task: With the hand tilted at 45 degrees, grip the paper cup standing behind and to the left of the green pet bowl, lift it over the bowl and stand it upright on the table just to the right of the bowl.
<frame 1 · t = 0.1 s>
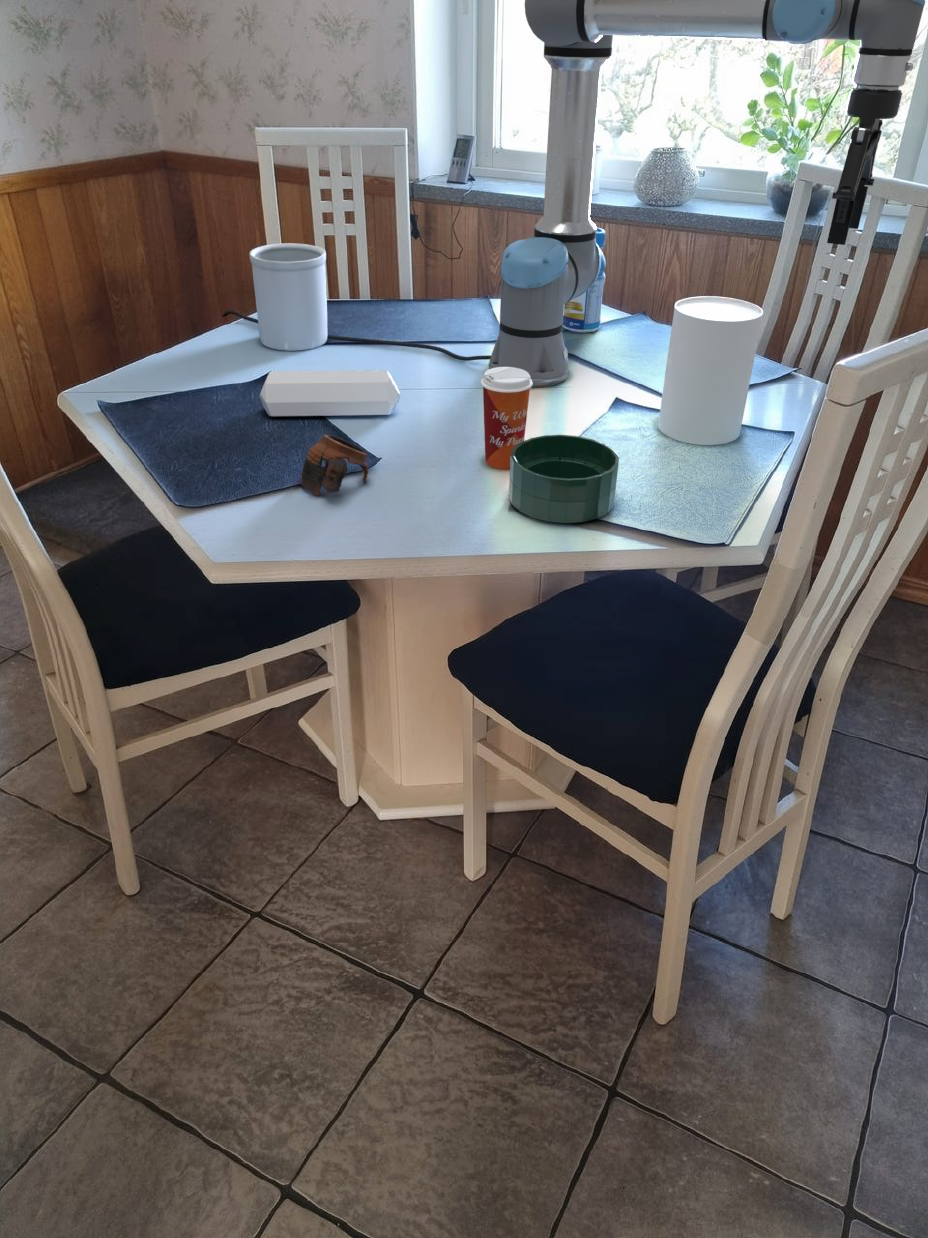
hand: (843, 235, 154), 28 cm above the table, tool pointing down, fingers open, 13 cm apart
leather tool belt: (334, 487, 138), on the table
utensil holder: (295, 341, 193), on the table
canister: (698, 429, 157), on the table
crystal: (331, 412, 162), on the table
paper cup: (503, 462, 145), on the table
green pet bowl: (561, 501, 135), on the table
beverage bottle: (580, 328, 203), on the table
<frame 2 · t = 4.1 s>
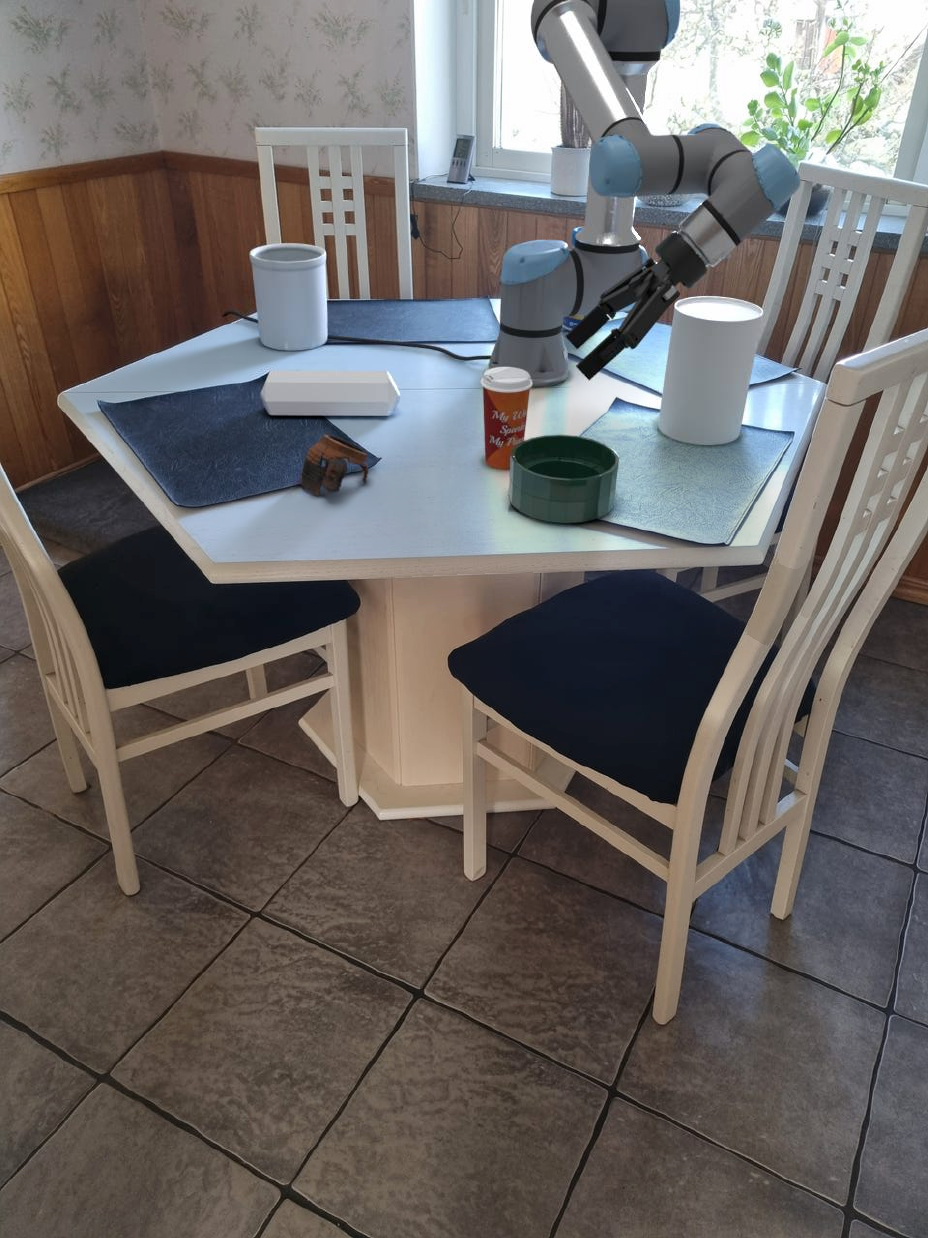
hand: (576, 357, 136), 17 cm above the table, tool tilted 45°, fingers open, 13 cm apart
nothing on the table moved.
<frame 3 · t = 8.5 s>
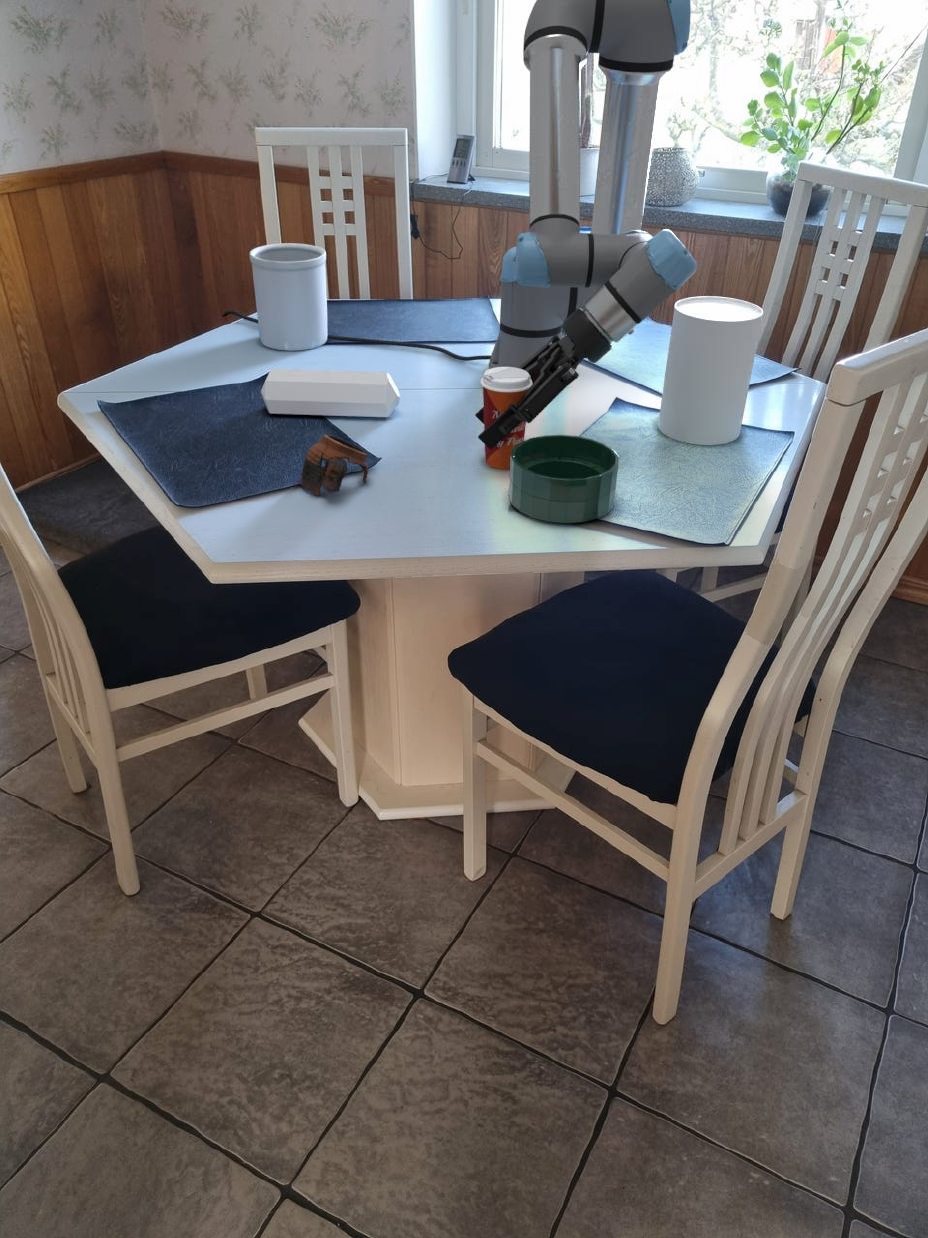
hand: (482, 431, 142), 5 cm above the table, tool tilted 45°, fingers closed on paper cup, 8 cm apart
paper cup: (503, 462, 145), on the table, touching gripper
everything else where it was.
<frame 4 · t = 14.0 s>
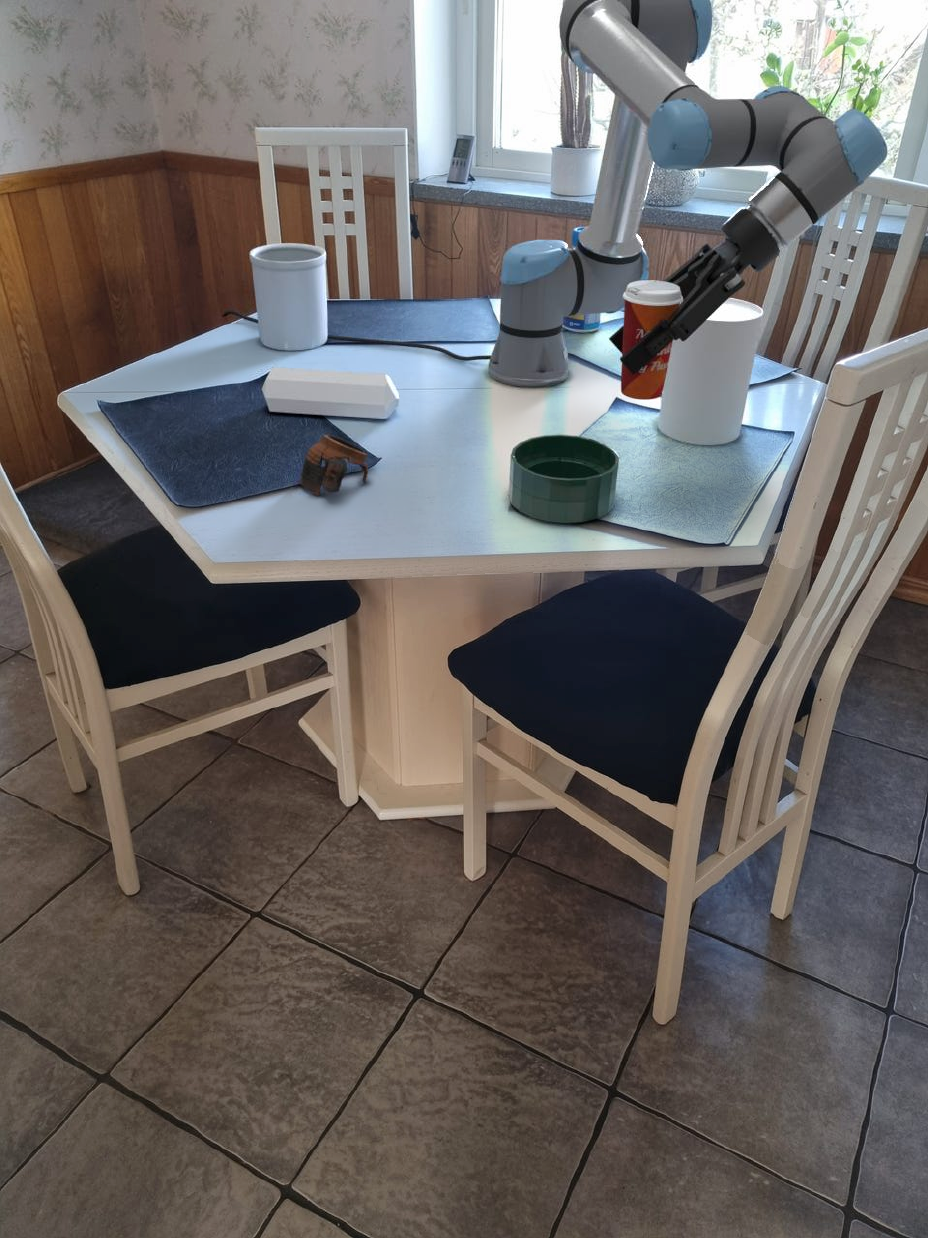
hand: (621, 356, 124), 21 cm above the table, tool tilted 45°, fingers closed on paper cup, 8 cm apart
paper cup: (641, 393, 127), point 16 cm above the table, touching gripper
when the fingers open (5 cm above the table, at t = 19.5 s): paper cup stays where it is, on the table.
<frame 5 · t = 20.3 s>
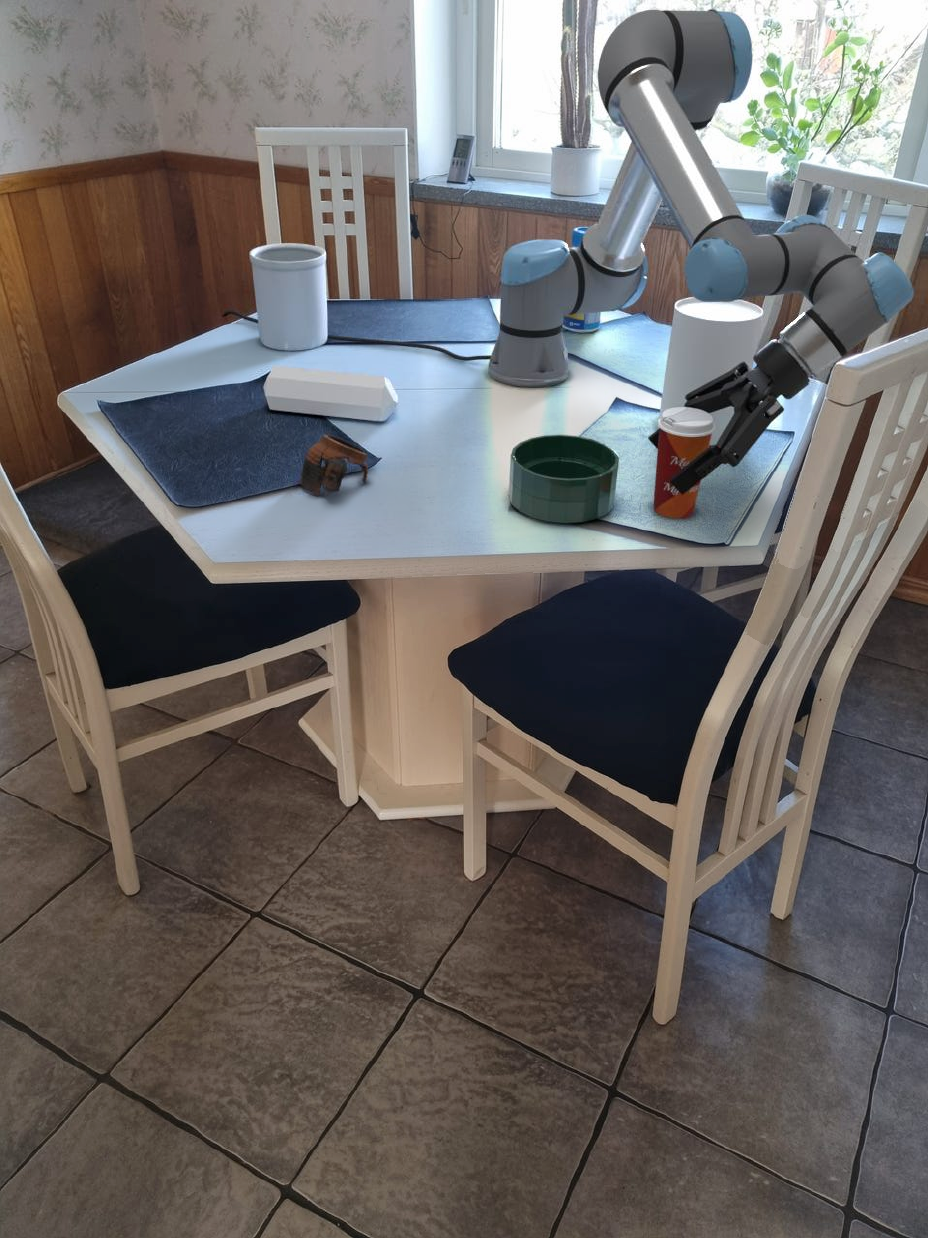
hand: (664, 465, 129), 7 cm above the table, tool tilted 45°, fingers open, 13 cm apart
paper cup: (673, 510, 133), on the table
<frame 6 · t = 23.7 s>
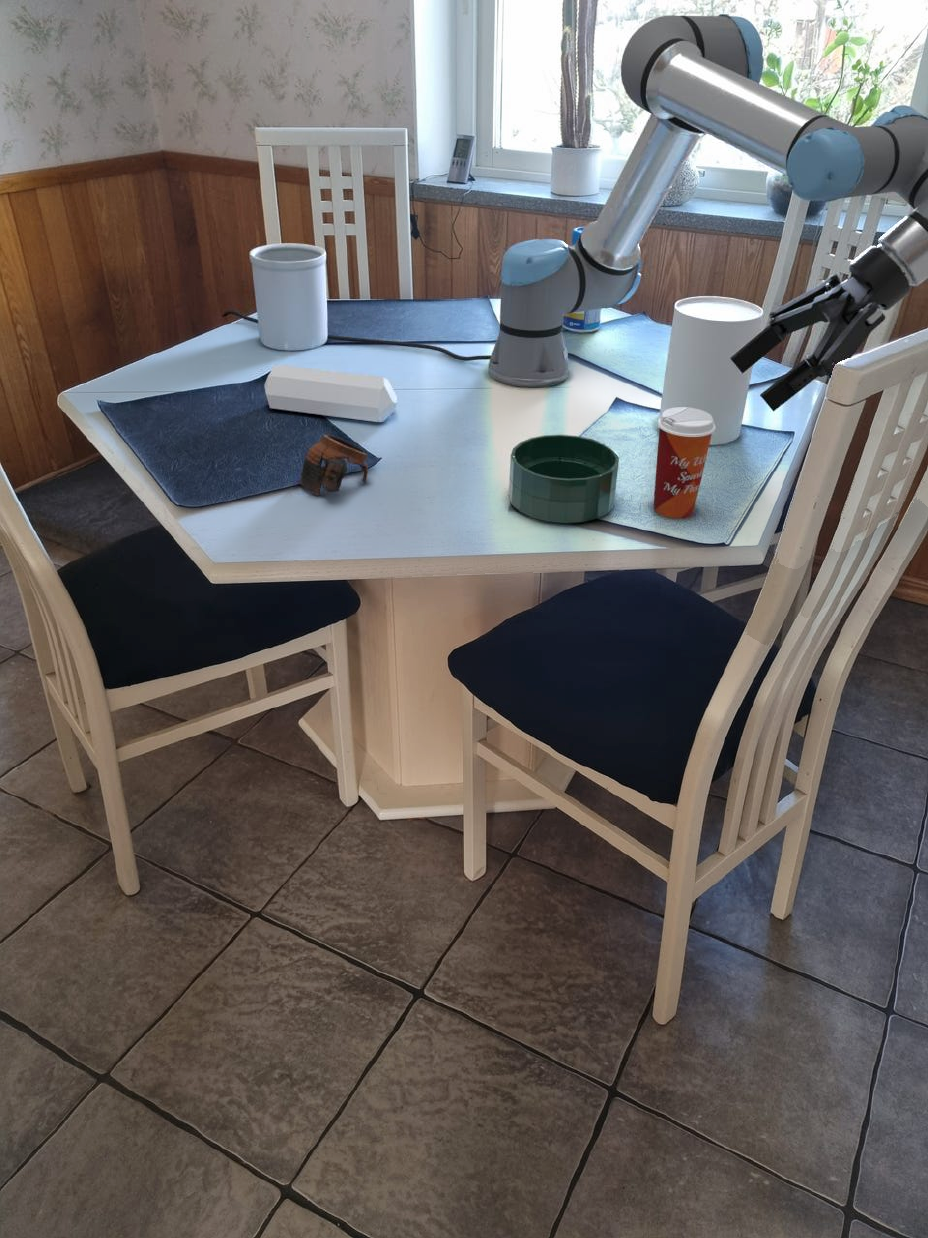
hand: (750, 383, 123), 18 cm above the table, tool tilted 45°, fingers open, 13 cm apart
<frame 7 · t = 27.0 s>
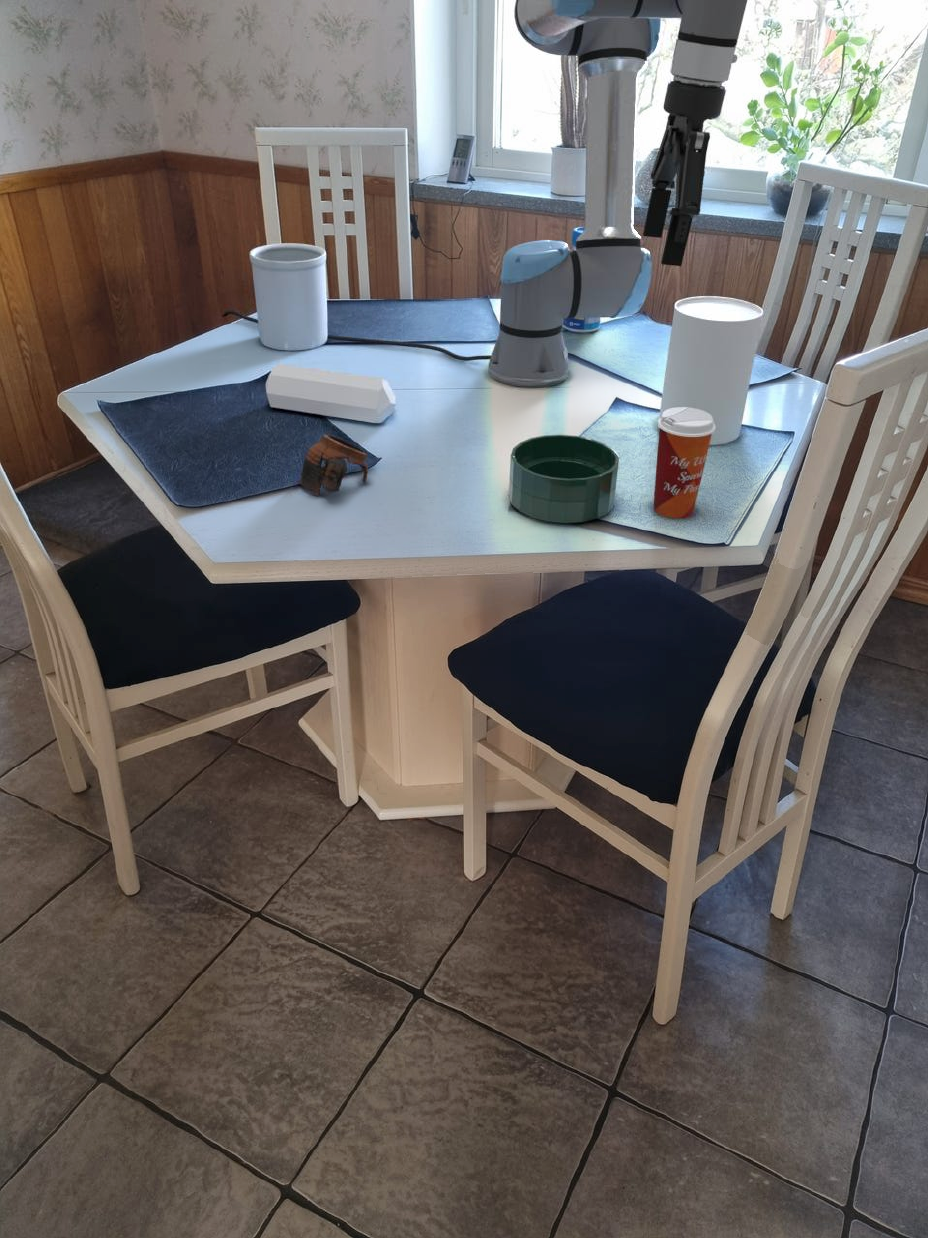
hand: (661, 250, 134), 30 cm above the table, tool pointing down, fingers open, 13 cm apart
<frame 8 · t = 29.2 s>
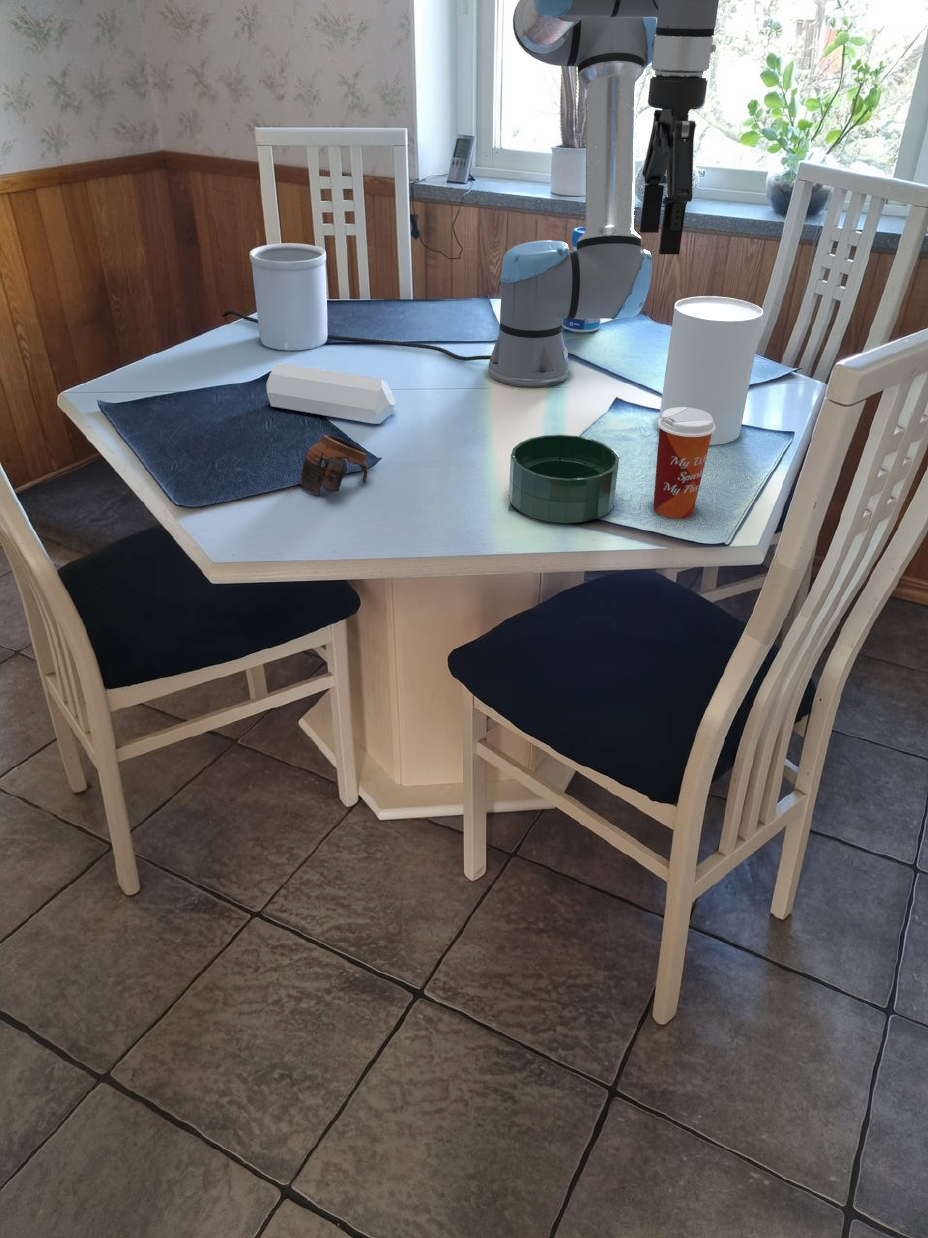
hand: (658, 242, 136), 31 cm above the table, tool pointing down, fingers open, 13 cm apart
at the end: paper cup inside the target area on the table beside the green pet bowl (0.0 cm from its centre), on the table; paper cup tilted 0°; the gripper is holding nothing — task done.
